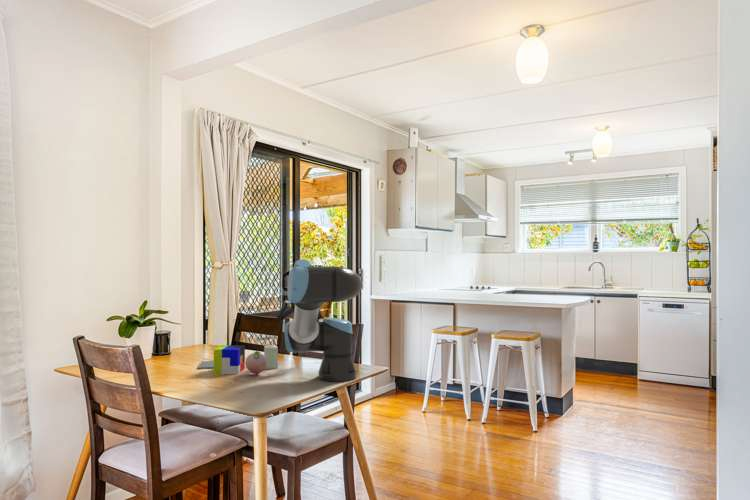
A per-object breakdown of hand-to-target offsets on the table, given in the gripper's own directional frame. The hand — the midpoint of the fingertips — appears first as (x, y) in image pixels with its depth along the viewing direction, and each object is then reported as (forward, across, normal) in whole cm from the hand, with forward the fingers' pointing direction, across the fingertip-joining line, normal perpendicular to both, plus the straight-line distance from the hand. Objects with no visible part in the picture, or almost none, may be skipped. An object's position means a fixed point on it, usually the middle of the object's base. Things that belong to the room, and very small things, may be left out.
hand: (298, 329), depth 228 cm
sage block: (+10, +12, +13) cm, 20 cm away
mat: (+15, +36, +6) cm, 39 cm away
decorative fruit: (+2, +18, +24) cm, 30 cm away
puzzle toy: (+8, +29, +17) cm, 34 cm away
